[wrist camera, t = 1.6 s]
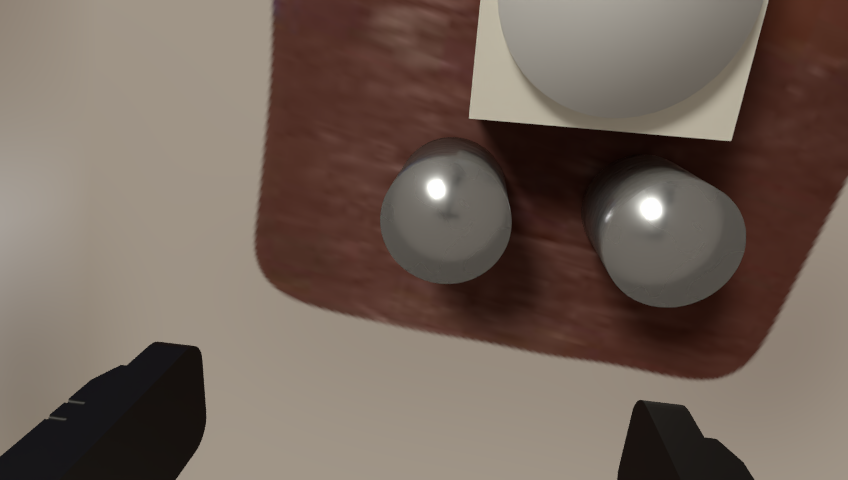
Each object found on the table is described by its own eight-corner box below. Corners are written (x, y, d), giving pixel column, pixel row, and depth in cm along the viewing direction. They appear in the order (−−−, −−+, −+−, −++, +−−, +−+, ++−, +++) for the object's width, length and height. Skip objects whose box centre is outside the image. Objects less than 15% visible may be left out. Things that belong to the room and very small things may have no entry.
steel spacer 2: (591, 149, 24) (618, 173, 19) (707, 159, 24) (763, 187, 19) (572, 254, 26) (593, 299, 21) (680, 265, 25) (725, 314, 21)
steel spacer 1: (401, 132, 25) (383, 152, 20) (512, 142, 24) (519, 165, 20) (395, 236, 26) (377, 276, 22) (498, 246, 26) (502, 290, 21)
